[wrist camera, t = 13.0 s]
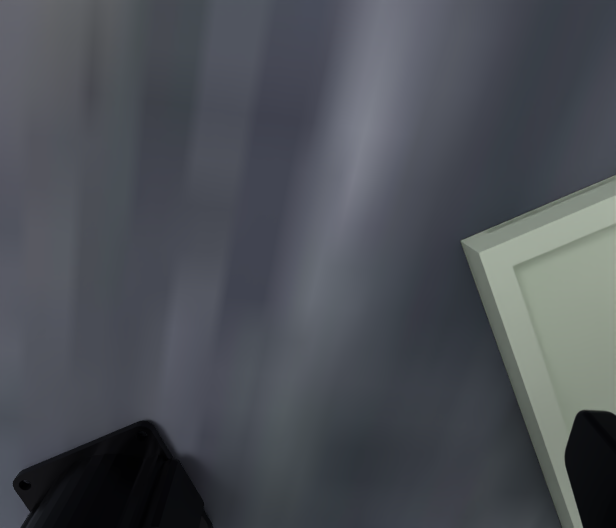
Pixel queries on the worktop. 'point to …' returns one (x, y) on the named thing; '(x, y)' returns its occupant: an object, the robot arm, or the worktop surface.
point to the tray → (554, 318)
